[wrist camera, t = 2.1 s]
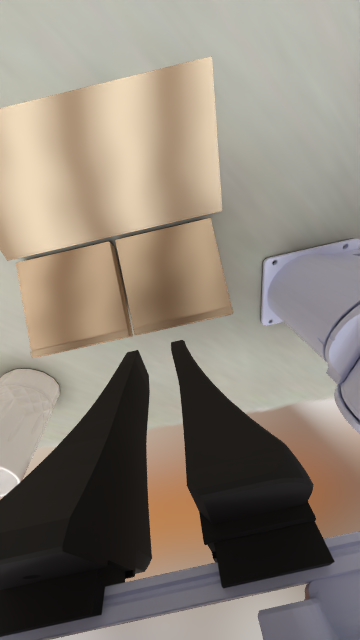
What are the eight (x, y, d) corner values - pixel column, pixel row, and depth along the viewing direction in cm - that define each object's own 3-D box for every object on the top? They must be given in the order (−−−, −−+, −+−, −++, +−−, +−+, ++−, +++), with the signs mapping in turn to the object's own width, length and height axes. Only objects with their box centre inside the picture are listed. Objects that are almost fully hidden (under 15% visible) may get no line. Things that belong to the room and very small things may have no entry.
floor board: (207, 68, 12) (211, 56, 11) (218, 210, 16) (222, 211, 15) (-63, 134, 12) (-82, 128, 11) (16, 257, 17) (7, 260, 16)
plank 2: (208, 225, 17) (210, 217, 15) (229, 314, 16) (233, 313, 15) (120, 246, 17) (114, 239, 16) (138, 334, 16) (134, 335, 15)
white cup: (30, 411, 27) (-27, 506, 19) (-20, 378, 23) (-123, 479, 15) (78, 393, 26) (40, 484, 18) (33, 355, 22) (-43, 449, 14)
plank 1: (114, 247, 17) (108, 241, 16) (132, 336, 16) (128, 336, 15) (27, 267, 17) (15, 262, 16) (43, 356, 17) (31, 358, 15)
